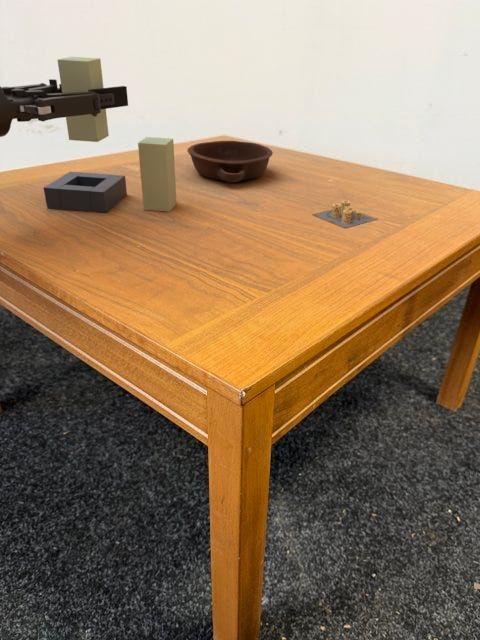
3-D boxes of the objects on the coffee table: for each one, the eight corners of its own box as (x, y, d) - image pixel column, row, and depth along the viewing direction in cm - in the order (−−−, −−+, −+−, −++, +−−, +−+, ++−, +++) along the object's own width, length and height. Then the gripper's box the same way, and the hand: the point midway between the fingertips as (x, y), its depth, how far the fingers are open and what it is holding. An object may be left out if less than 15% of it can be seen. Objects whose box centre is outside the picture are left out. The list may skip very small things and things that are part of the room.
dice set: (346, 224, 91) (347, 213, 90) (324, 215, 94) (325, 204, 93) (366, 218, 94) (368, 207, 93) (345, 210, 97) (346, 199, 96)
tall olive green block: (69, 140, 84) (57, 59, 78) (81, 134, 88) (70, 56, 82) (97, 142, 84) (88, 61, 78) (108, 135, 88) (100, 58, 82)
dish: (184, 188, 105) (183, 161, 102) (191, 160, 124) (190, 136, 121) (275, 190, 106) (276, 163, 104) (268, 161, 125) (269, 138, 122)
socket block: (47, 208, 93) (43, 187, 91) (72, 190, 102) (69, 171, 100) (106, 212, 92) (103, 192, 90) (127, 194, 101) (125, 175, 99)
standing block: (143, 209, 94) (137, 142, 88) (151, 201, 98) (146, 136, 92) (169, 211, 93) (165, 144, 88) (176, 203, 97) (173, 138, 91)
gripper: (-62, 128, 77) (76, 110, 93) (16, 152, 68) (155, 127, 83) (-77, 69, 73) (69, 60, 89) (2, 86, 64) (151, 72, 79)
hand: (110, 93), depth 86 cm, fingers closed on tall olive green block, 6 cm apart
